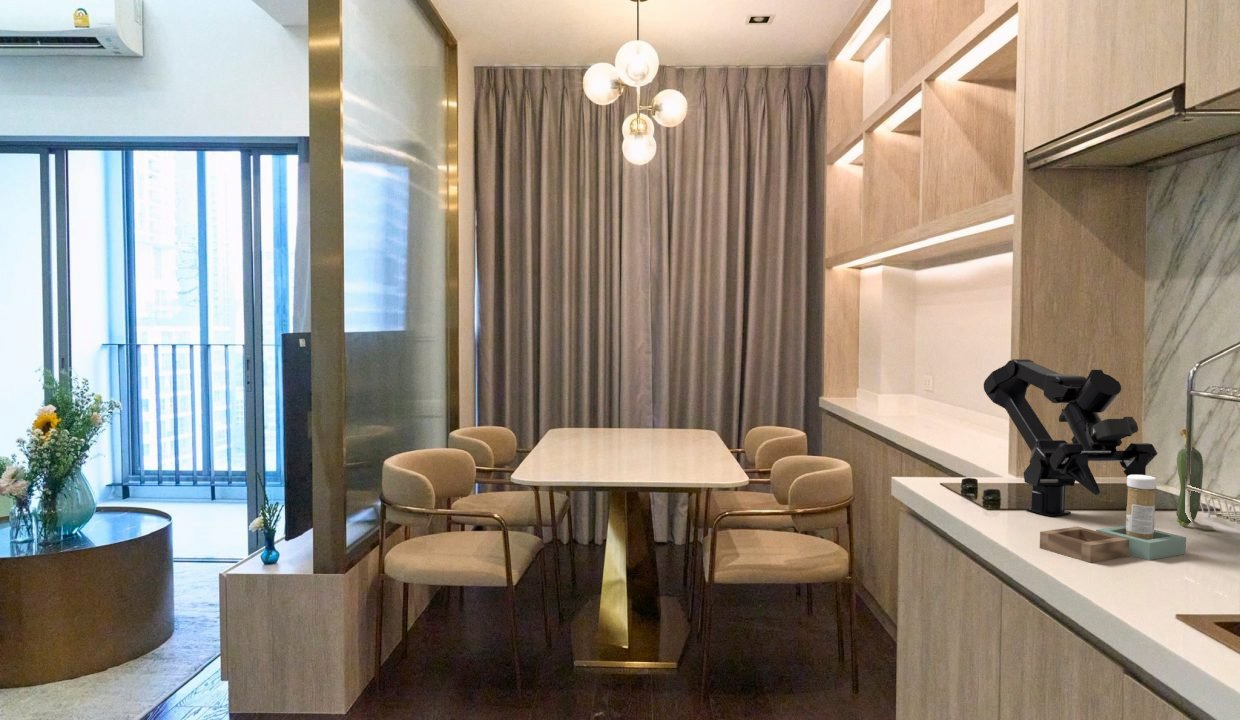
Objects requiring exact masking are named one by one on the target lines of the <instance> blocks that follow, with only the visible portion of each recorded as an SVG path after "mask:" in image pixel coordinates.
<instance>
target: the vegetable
mask: <svg viewBox="0 0 1240 720" xmlns="http://www.w3.org/2000/svg"><path fill="white" fill-rule="evenodd" d="M1187 430H1188V429H1186V428H1183V429H1181V430H1180V432H1179V435H1180V436H1181V437H1182V443H1183V445H1184V447H1183V448H1181V449H1180V450H1179V451H1178V453H1177V455H1176V456H1177V457H1176V466H1177V467H1176V468H1177V473H1178V478H1179V479H1178V480H1179V483H1180V492H1179V496H1178V501H1177V507H1176V515H1175V516H1176V517H1177V518H1176V522H1177V523H1179V526H1183V527H1184V528H1185V527H1187V526H1189V525H1190V524H1191V523H1192V522H1191V521H1190V520H1189V519H1188V517H1187V515H1186V513H1185V479H1186V459H1187V457H1186V455H1187V448H1186V441H1187ZM1203 477H1204V460H1203V456H1202V453H1201V452H1200V451H1199V450H1198V449H1196V442H1195V438H1194V436H1193V435H1192V451H1191V474H1190V485H1191V486H1192V487H1196V488H1199V489H1201V490H1202V489H1203ZM1190 495H1191V496H1190V512H1191V517H1192V519H1193V520H1194V521H1195V520H1196V518H1197V515H1198V512H1199V508H1200V504H1201V498H1202V497H1201V496H1202V492H1201V493H1198V492H1195V491H1191V494H1190Z"/></svg>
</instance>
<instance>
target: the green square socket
mask: <svg viewBox="0 0 1240 720" xmlns="http://www.w3.org/2000/svg"><path fill="white" fill-rule="evenodd" d="M1095 531H1098V532H1102V533H1106V534H1110V535H1114V536H1118V537H1122V538H1126V539H1129V556H1132V557H1136V558H1140V559H1144V560H1147V561H1151V560H1157V559H1162V558H1163V559H1164V558H1169V557H1175V556H1180V555H1184V554H1185V555H1186V554H1187V552H1186V551H1187V550H1186V549H1187V537H1186V536H1183V535H1178V534H1174V533H1170V532H1165V531H1162V530H1158V529H1154V533H1153V539H1150V540H1145V539H1141V538H1137V537H1133V536H1129V535H1126V524H1125V525H1121V526H1120V525H1119V526H1112V527H1105V528H1097V529H1096V530H1095Z"/></svg>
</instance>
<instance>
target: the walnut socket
mask: <svg viewBox="0 0 1240 720" xmlns="http://www.w3.org/2000/svg"><path fill="white" fill-rule="evenodd" d="M1039 549H1042V550H1046V551H1048V550H1049V552H1053V553H1056V554H1059V555H1062V556H1063V555H1064V556H1067V557H1069V558H1074V559H1076V560H1079V561H1083V562H1087V563H1096V562H1103V561H1108V560H1114V559H1119V558H1120V559H1121V558H1126V557H1129V556H1130V555H1129V539H1126V538H1122V537H1118V536H1114V535H1110V534H1106V533H1102V532H1098V531H1096V530H1093V529H1090V528H1087V527H1082V526H1071V527H1070V526H1069V527H1065V528H1056V529H1049V530H1041V531H1039Z"/></svg>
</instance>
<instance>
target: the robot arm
mask: <svg viewBox="0 0 1240 720" xmlns="http://www.w3.org/2000/svg"><path fill="white" fill-rule="evenodd" d="M1031 385H1032V386H1034V387H1035V388H1037V389H1040V390H1041V391H1043V396H1044V397H1045V398H1046V399H1048V400H1049V401H1050V402H1051V403H1053V404H1066V405H1065V407H1064V408H1061V411H1060V415H1059V417H1058V422H1059V423H1067V425H1068V426H1069V428H1070V430H1071V432H1072V435H1073V436H1072V438H1071V439H1070V440H1071V442H1072V443H1070V442H1069V443H1068V442H1067V441H1066V440H1063V439H1060V440H1058V439H1057V440H1054V439H1053V438H1052V437H1051V435H1050V434H1049V431H1048V430H1047V429H1046V427H1045V426H1044V424H1043V422H1042V421H1041V419H1040V418H1039V417H1038V415H1037V413H1036V412H1035V410H1034V409H1033V408H1032V406H1031V405H1030V402H1028V400H1027V398H1026V395H1027V390H1028V388H1029V387H1030V386H1031ZM983 391H984V392H985V394H986V396H987V397H988V398H989V400H990V401H992V403H994V404H995V405H997V406H999V407H1001V408H1003V409H1004V410H1005V411H1006V413H1007V414H1008V416H1009V417H1010V419H1011V421H1012V422H1013V424H1014V425H1015V427H1016V428H1017V430H1018V433H1020V436H1021V437H1022V438H1023V440H1024V442H1025V443H1026V445H1027V446H1028V448H1029V450H1030V451H1031V452H1030V457H1029V461H1028V462H1029V465H1028V466H1027V467H1026V468H1025V470H1024V471H1023V473H1022V474H1023V479H1024V480H1023V482H1024V483H1025V484H1029V485H1032V487H1031V488H1032V491H1031V500H1030V501H1031V502H1030V504H1031V505H1030V507H1025V511H1026V512H1027V511H1028V512H1031V513H1032V512H1033V513H1036V514H1039V515H1043V516H1047V517H1057V516H1066V515H1072V512H1071V511H1070V510H1065V509H1066V508H1065V507H1066V486H1068V487H1074V486H1075V484H1076V483H1078V484H1080V485H1081V486H1083V487H1084V488H1085V489H1087V490H1088V491H1089V492H1091V493H1092V494H1093V495H1095V496H1098V495H1100V493H1101V491H1100V488H1099V484H1098V483H1097V481H1096V479H1095V477H1094V475H1093V472H1092V470H1091V469H1090V466H1089V462H1096V463H1097V462H1119V464H1120V466H1121V467H1122V468H1124V470H1123V471H1122V472H1123V473H1124V474H1125V476H1126V477H1127V476H1128V475H1147V474H1146V473H1147V472H1146V471H1147V466H1148V465H1149V464H1150V463H1151V461H1153V459H1154V458H1155V457H1156V456H1157V455H1158V454H1159V453H1158V452H1157V450H1156V448H1155V446H1154V445H1153V444H1152V443H1148V442H1131V443H1130V444H1129V445H1128V446H1127V447H1126V449H1124V450H1117V447H1120V446H1121V445H1122V444H1123V441H1122V439H1124V438H1125V439H1126V438H1127V437H1132V436H1133V435H1134V434H1135V433H1138V431H1139V426H1138V423H1137V422H1136V420H1135V418H1134V417H1133V416H1124V417H1123V418H1106V419H1103V420H1102V418H1101V417H1100V414H1099V413H1103V412H1105V411H1106V410H1107V409H1108V408H1109V406H1110V405H1111V404H1112V403H1113V402H1114V400H1116V398H1117V396H1118V395H1119V394H1120V392H1121V391H1122V385H1121V383H1120V381H1119V380H1116V379H1115V378H1114V377H1113V376H1111V375H1109V374H1106V373H1104V371H1103V370H1102V369H1091V371H1090V372H1089V374H1088V375H1087V377H1085V376H1083V375H1077V374H1066V373H1065V374H1063V373H1059V372H1056V371H1055V370H1052V369H1049V368H1047V367H1046V366H1043V365H1040V364H1038V363H1036V362H1035V361H1033V360H1032V359H1028V358H1022V359H1019V358H1018V359H1017V358H1012V359H1011V360H1008V361H1007V362H1006V363H1005V365H1003V366H1001V367H999V368H997V369H995V370H993V371H992V372H991V373H990V374H989V375H988V376H987V377H986V378H985V379H984V382H983Z"/></svg>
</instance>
